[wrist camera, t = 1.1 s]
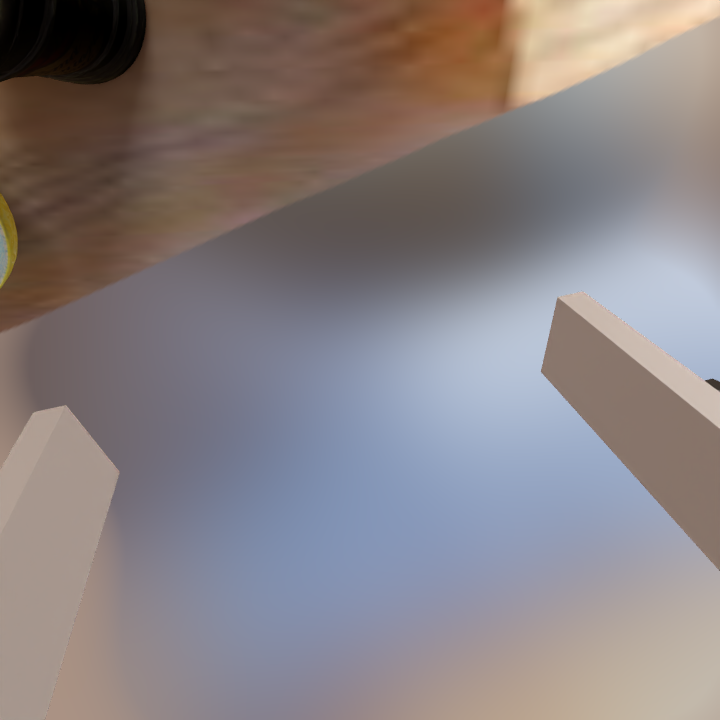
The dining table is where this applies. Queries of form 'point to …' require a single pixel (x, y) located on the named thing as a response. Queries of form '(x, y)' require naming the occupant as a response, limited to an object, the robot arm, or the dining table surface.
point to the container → (70, 38)
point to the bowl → (7, 241)
